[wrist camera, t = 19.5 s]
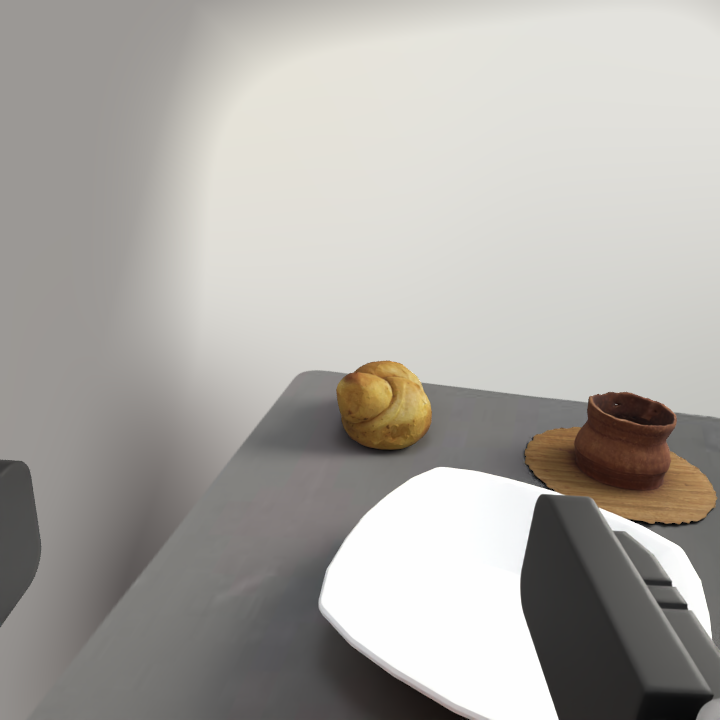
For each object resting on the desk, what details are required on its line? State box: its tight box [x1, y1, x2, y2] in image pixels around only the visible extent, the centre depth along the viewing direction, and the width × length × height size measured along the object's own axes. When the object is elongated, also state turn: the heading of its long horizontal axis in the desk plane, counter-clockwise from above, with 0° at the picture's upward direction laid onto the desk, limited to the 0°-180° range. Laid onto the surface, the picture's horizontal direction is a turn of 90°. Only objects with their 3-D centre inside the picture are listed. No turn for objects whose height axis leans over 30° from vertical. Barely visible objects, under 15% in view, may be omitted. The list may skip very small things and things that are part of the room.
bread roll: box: [336, 361, 432, 449], centre depth 64 cm, size 13×10×8 cm
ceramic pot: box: [525, 392, 717, 524], centre depth 59 cm, size 18×18×7 cm
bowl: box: [319, 467, 712, 720], centre depth 38 cm, size 22×22×5 cm
